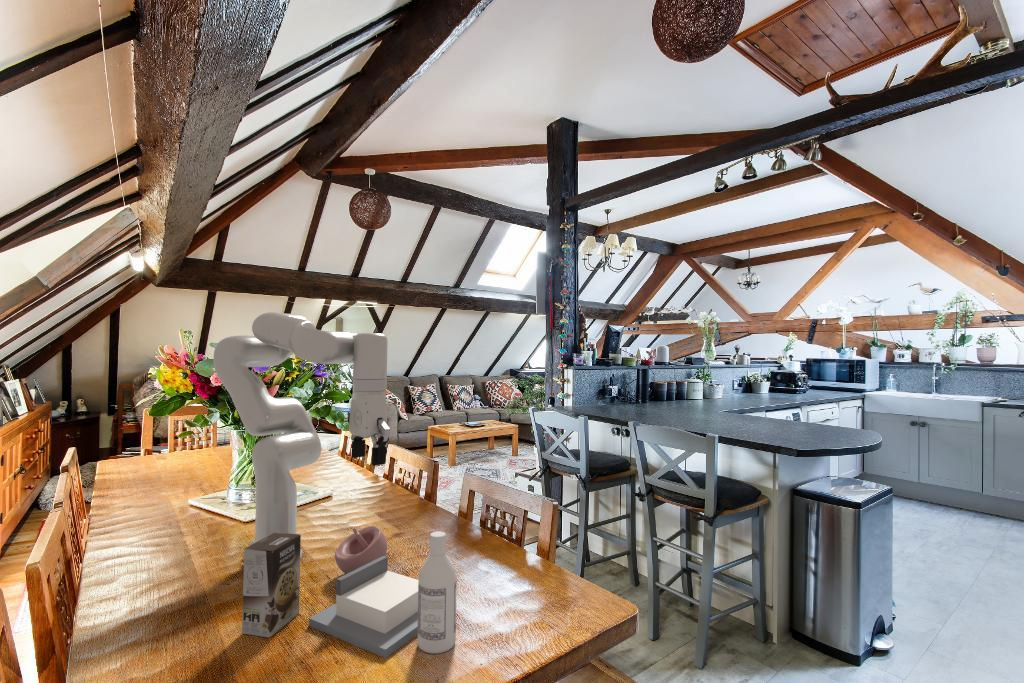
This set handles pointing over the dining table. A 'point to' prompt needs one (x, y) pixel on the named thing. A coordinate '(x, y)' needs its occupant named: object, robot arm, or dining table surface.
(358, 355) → the robot arm
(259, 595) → the coffee box
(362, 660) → the dining table surface
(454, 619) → the bath foam
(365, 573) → the display stand
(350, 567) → the mortar and pestle
